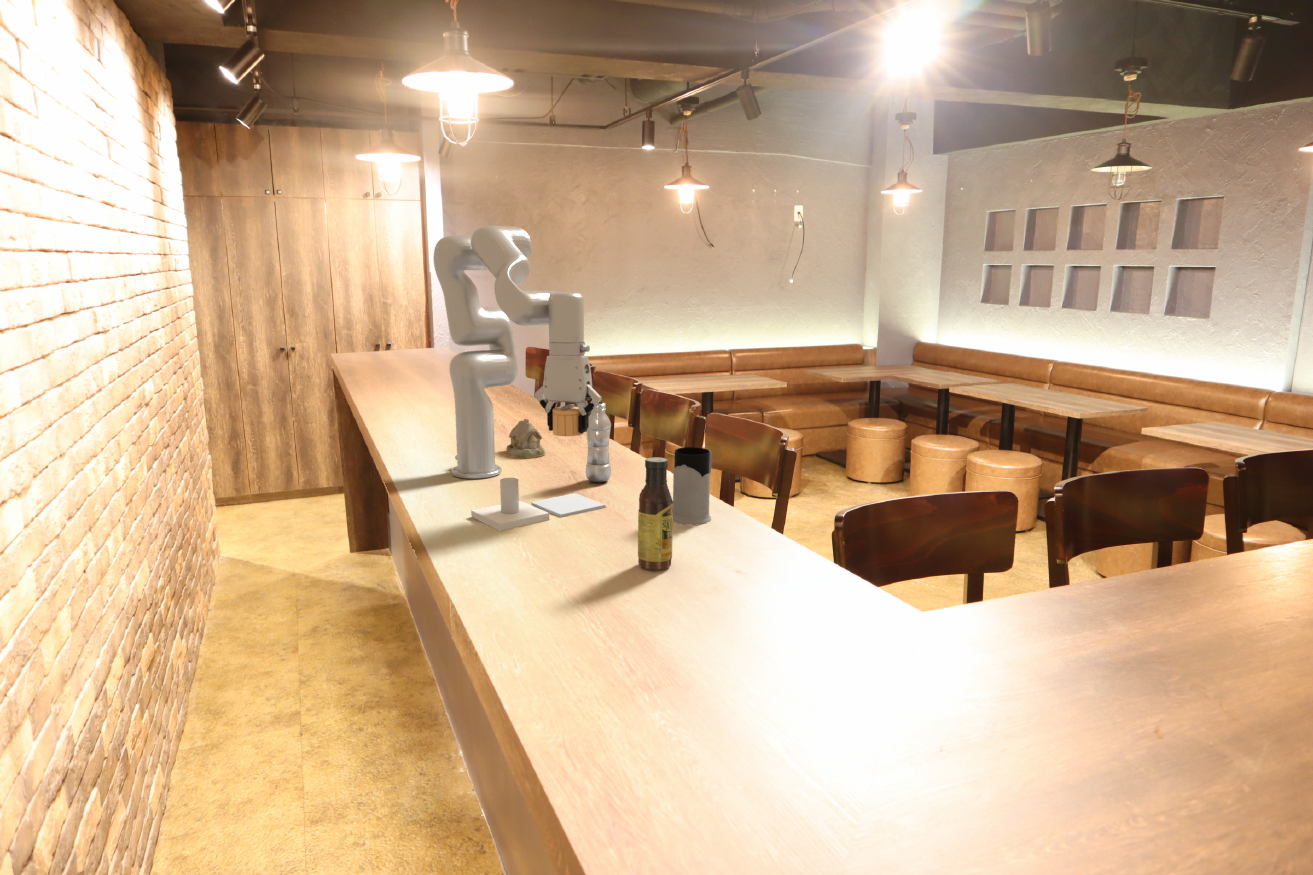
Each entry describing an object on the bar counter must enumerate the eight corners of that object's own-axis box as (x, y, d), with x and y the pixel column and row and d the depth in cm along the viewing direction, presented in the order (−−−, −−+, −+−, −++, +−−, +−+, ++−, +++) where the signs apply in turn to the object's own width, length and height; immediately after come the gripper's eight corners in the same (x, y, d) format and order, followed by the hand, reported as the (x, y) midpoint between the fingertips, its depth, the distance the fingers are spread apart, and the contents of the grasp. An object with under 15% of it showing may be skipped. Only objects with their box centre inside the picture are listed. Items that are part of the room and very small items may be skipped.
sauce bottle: (668, 573, 147) (670, 465, 143) (634, 570, 148) (634, 462, 144) (675, 561, 153) (676, 456, 149) (642, 558, 154) (643, 454, 150)
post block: (471, 516, 178) (470, 478, 176) (519, 506, 186) (519, 470, 184) (499, 530, 169) (498, 490, 167) (549, 519, 177) (548, 481, 175)
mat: (531, 504, 188) (531, 502, 187) (575, 495, 195) (574, 493, 195) (560, 517, 179) (560, 514, 179) (605, 507, 186) (605, 504, 186)
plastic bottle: (613, 478, 211) (613, 401, 207) (609, 485, 204) (609, 405, 200) (588, 477, 212) (587, 400, 208) (583, 484, 205) (582, 405, 201)
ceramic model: (499, 450, 242) (498, 416, 239) (535, 446, 247) (534, 413, 245) (518, 460, 230) (517, 425, 228) (555, 456, 236) (554, 421, 233)
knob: (561, 429, 187) (560, 402, 186) (587, 431, 185) (587, 404, 184) (547, 435, 181) (547, 407, 180) (575, 437, 179) (574, 408, 178)
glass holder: (663, 520, 177) (664, 452, 174) (691, 504, 189) (693, 440, 186) (700, 527, 173) (702, 457, 170) (727, 510, 185) (729, 444, 182)
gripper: (610, 350, 180) (610, 430, 184) (539, 347, 186) (540, 425, 190) (596, 353, 173) (597, 437, 177) (522, 350, 179) (524, 431, 183)
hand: (567, 430), depth 183 cm, fingers closed on knob, 6 cm apart
